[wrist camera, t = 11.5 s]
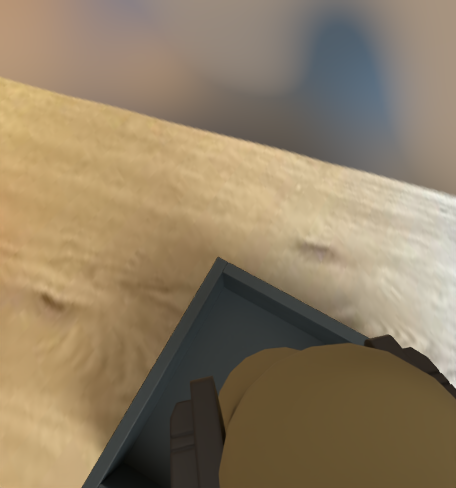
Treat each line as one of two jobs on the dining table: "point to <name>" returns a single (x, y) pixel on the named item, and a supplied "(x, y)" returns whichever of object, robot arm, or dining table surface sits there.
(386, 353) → the cork
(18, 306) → the dining table surface
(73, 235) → the dining table surface
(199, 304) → the bin
